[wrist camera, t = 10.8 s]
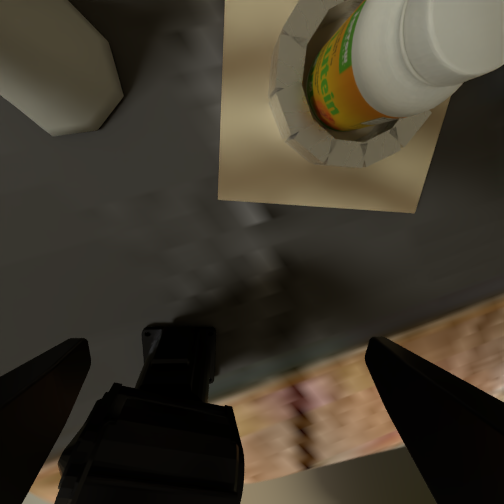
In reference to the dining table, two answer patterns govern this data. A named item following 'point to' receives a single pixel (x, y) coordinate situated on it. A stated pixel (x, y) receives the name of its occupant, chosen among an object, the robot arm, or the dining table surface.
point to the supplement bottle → (402, 59)
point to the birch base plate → (274, 147)
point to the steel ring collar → (296, 107)
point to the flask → (56, 66)
